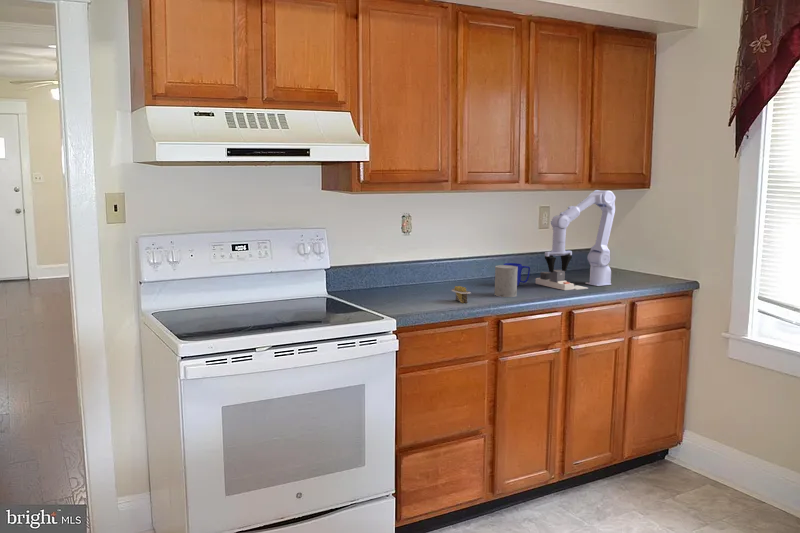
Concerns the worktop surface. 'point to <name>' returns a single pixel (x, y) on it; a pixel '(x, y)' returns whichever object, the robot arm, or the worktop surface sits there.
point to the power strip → (546, 281)
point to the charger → (557, 276)
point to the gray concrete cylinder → (506, 280)
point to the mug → (519, 271)
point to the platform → (461, 294)
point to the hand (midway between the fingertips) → (557, 271)
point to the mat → (579, 287)
